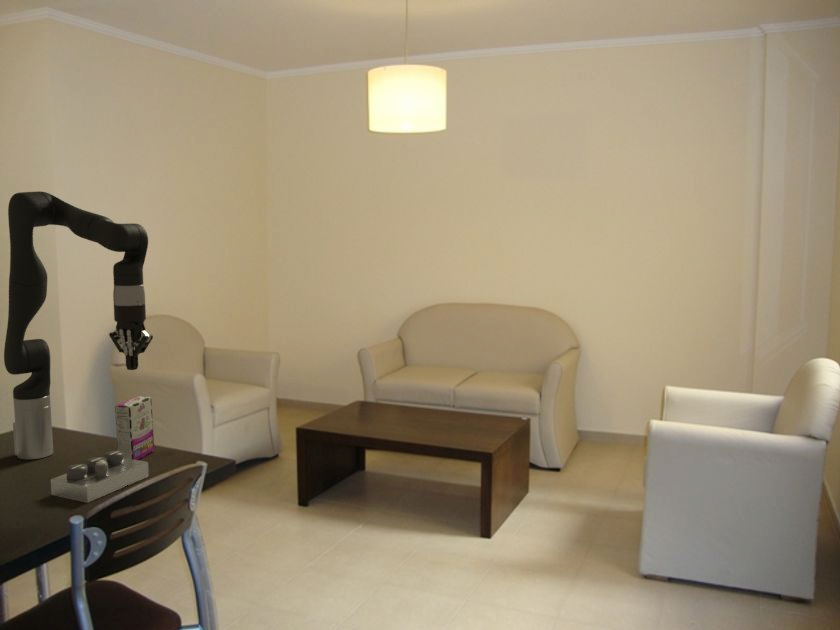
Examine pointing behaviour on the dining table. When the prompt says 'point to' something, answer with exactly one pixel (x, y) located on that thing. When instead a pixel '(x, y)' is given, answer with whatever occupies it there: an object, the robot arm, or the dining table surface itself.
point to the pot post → (101, 469)
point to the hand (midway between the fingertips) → (132, 369)
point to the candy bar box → (135, 427)
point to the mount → (100, 481)
